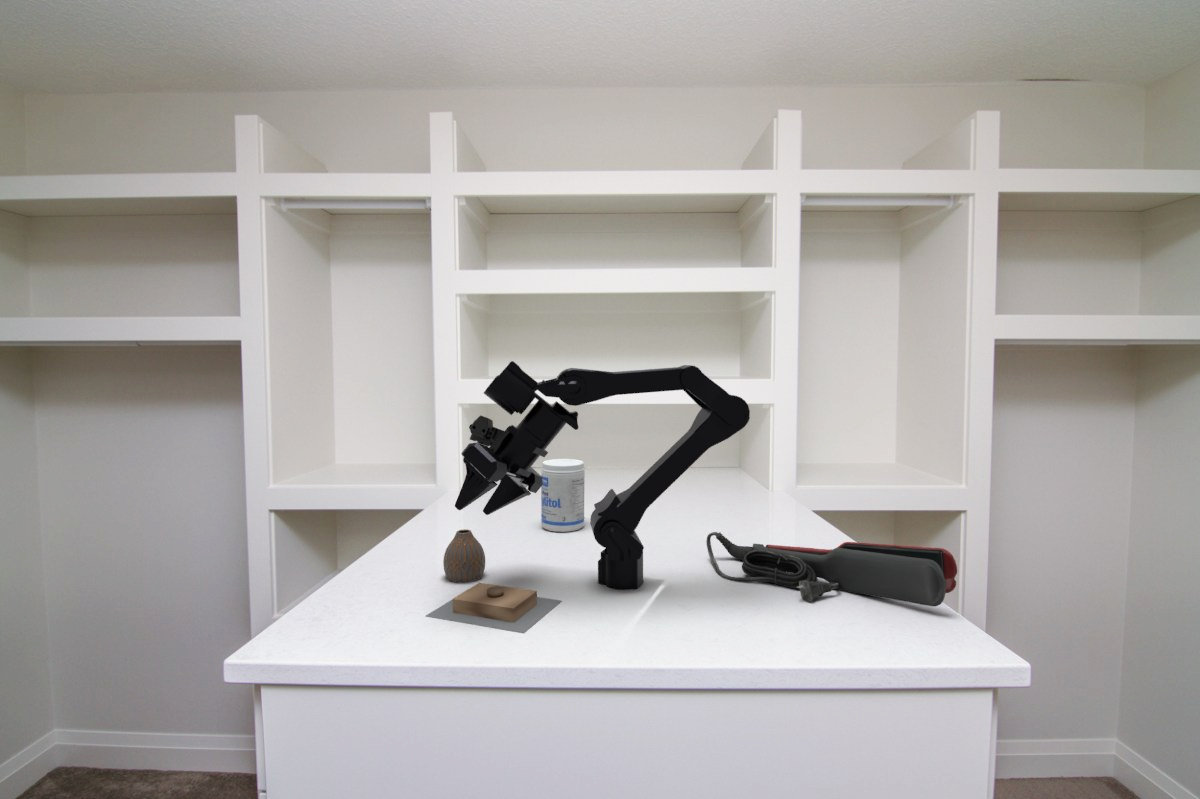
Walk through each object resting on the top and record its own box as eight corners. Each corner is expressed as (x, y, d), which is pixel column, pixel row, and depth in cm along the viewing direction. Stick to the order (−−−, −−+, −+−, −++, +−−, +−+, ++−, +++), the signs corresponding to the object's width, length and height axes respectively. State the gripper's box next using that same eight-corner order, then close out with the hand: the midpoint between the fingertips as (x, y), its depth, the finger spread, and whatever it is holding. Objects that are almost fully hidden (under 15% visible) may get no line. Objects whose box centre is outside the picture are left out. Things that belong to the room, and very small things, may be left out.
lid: (537, 604, 94) (536, 585, 94) (513, 622, 88) (513, 602, 87) (479, 595, 98) (479, 577, 98) (453, 612, 91) (452, 593, 91)
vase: (476, 591, 102) (475, 537, 102) (436, 588, 104) (435, 536, 103) (491, 576, 109) (490, 526, 109) (454, 574, 111) (453, 524, 110)
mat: (562, 607, 95) (562, 600, 95) (524, 640, 84) (524, 633, 84) (472, 593, 101) (471, 587, 101) (425, 622, 90) (424, 616, 90)
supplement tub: (533, 529, 138) (532, 463, 137) (555, 519, 147) (555, 457, 146) (571, 535, 134) (570, 466, 133) (592, 524, 142) (592, 460, 141)
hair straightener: (721, 552, 122) (722, 510, 121) (957, 601, 97) (959, 549, 96) (679, 574, 110) (679, 528, 109) (936, 637, 85) (938, 577, 84)
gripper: (523, 416, 111) (467, 485, 111) (473, 388, 94) (406, 470, 94) (567, 455, 107) (509, 527, 107) (523, 434, 90) (454, 519, 89)
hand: (471, 510), depth 99 cm, fingers open, 9 cm apart
